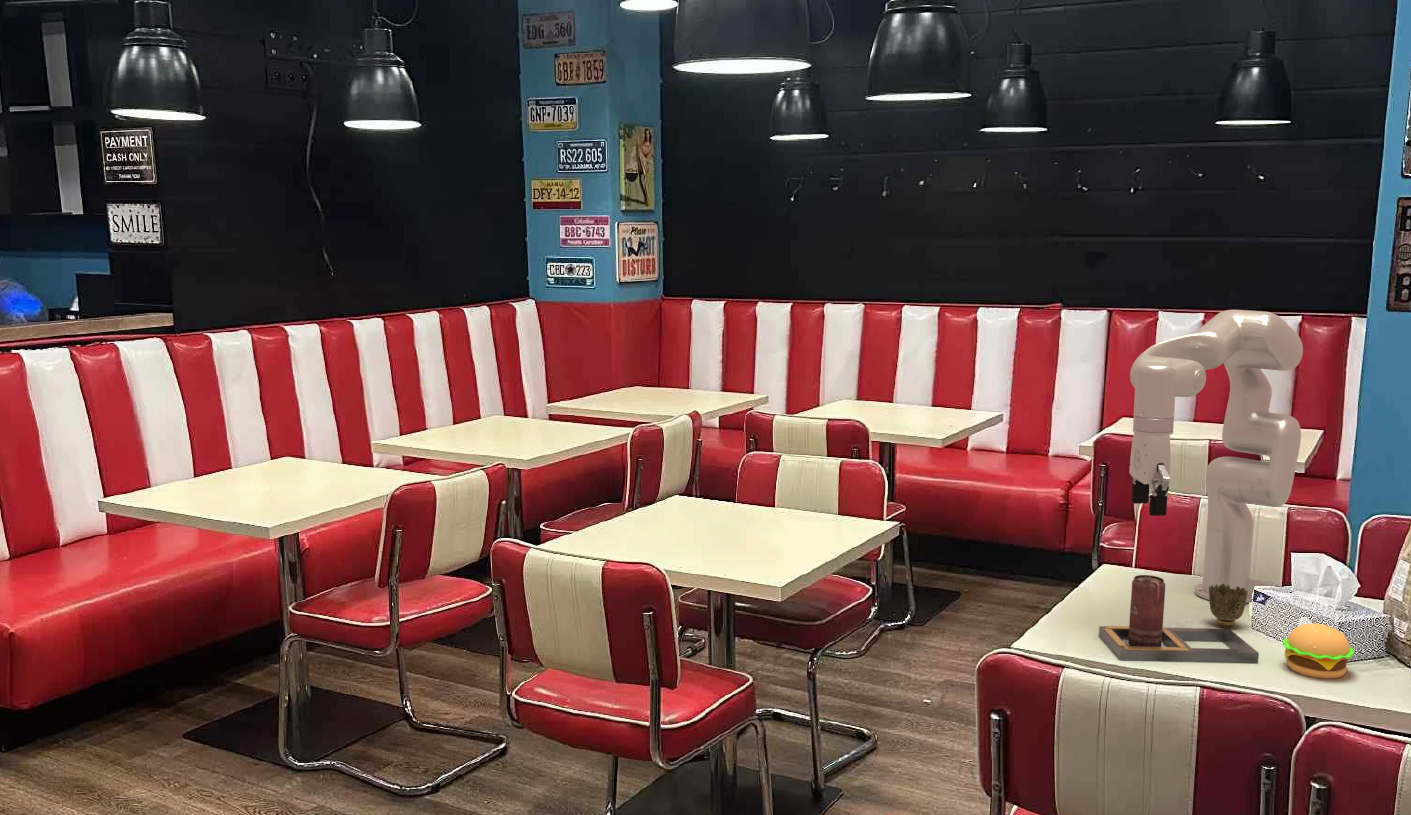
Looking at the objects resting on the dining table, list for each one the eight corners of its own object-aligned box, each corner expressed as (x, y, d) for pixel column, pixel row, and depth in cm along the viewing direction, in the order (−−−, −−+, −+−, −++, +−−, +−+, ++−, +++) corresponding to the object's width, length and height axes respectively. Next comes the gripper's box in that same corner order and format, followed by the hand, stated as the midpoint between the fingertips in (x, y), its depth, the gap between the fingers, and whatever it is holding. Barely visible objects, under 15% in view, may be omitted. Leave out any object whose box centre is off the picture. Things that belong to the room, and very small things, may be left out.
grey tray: (1228, 638, 245) (1229, 627, 245) (1258, 663, 231) (1258, 652, 231) (1098, 635, 246) (1099, 625, 246) (1120, 660, 232) (1120, 649, 232)
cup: (1250, 625, 253) (1253, 588, 252) (1237, 634, 248) (1240, 596, 247) (1214, 617, 258) (1216, 581, 257) (1200, 625, 253) (1203, 588, 252)
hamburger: (1268, 667, 229) (1272, 623, 228) (1300, 654, 237) (1303, 611, 235) (1333, 687, 220) (1337, 641, 219) (1363, 673, 227) (1368, 628, 226)
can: (1144, 654, 235) (1149, 584, 233) (1121, 644, 241) (1125, 575, 239) (1168, 650, 238) (1173, 581, 236) (1145, 640, 244) (1149, 572, 241)
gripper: (1119, 417, 249) (1115, 499, 252) (1149, 433, 232) (1145, 520, 235) (1156, 417, 249) (1152, 498, 252) (1189, 433, 232) (1184, 520, 235)
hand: (1148, 509), depth 244 cm, fingers open, 9 cm apart
